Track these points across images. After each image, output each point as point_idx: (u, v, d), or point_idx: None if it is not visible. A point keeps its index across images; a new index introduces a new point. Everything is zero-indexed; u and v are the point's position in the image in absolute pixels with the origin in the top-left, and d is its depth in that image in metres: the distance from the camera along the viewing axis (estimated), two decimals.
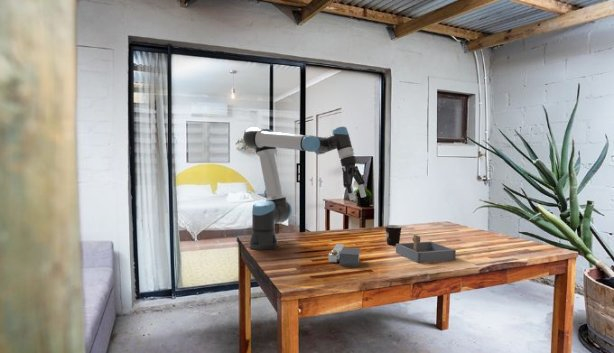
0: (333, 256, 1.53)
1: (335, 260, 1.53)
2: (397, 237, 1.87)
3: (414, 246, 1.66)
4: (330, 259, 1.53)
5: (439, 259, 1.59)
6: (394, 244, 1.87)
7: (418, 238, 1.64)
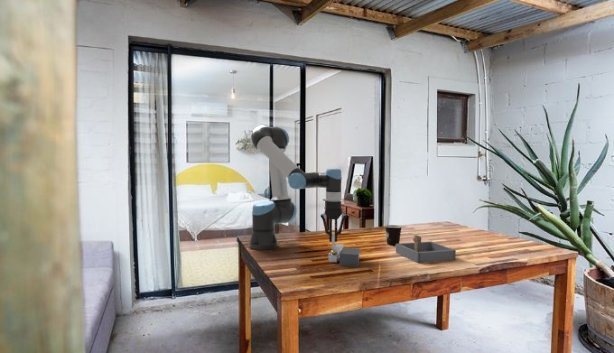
0: (333, 256, 1.53)
1: (335, 260, 1.53)
2: (397, 237, 1.87)
3: (415, 246, 1.65)
4: (330, 259, 1.53)
5: (439, 259, 1.59)
6: (394, 244, 1.87)
7: (419, 238, 1.64)
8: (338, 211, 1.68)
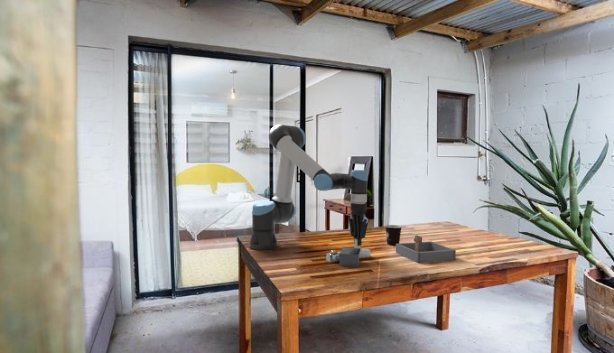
0: (328, 255, 1.54)
1: (329, 259, 1.54)
2: (397, 237, 1.87)
3: (416, 246, 1.65)
4: (326, 258, 1.56)
5: (439, 259, 1.59)
6: (394, 244, 1.87)
7: (420, 238, 1.64)
8: (360, 214, 1.61)
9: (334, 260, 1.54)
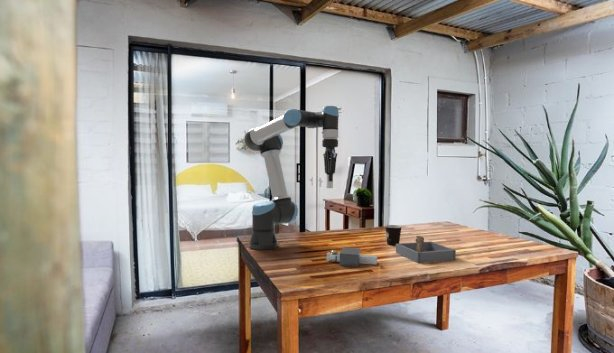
0: (327, 254, 1.56)
1: None
2: (397, 237, 1.87)
3: (417, 247, 1.64)
4: None
5: (439, 259, 1.59)
6: (394, 244, 1.87)
7: (422, 239, 1.63)
8: (329, 149, 1.63)
9: (330, 260, 1.54)
